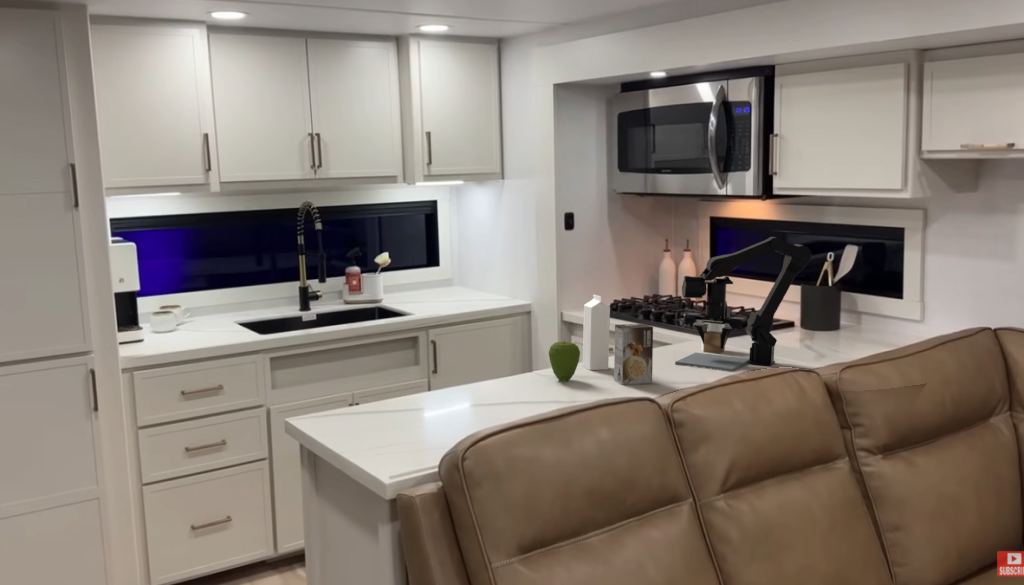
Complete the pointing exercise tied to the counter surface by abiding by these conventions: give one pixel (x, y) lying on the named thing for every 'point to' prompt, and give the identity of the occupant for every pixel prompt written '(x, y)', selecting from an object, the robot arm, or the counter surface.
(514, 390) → the counter surface
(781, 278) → the robot arm
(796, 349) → the counter surface
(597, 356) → the milk
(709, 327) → the white cup
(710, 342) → the walnut block
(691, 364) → the slate mat
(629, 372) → the printed cardboard box
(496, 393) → the counter surface
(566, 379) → the apple
